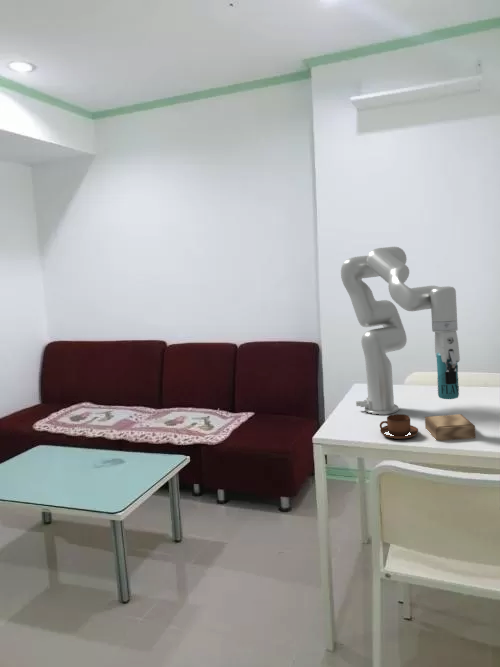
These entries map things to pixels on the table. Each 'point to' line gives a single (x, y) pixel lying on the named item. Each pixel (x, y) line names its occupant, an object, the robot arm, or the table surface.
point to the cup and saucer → (398, 427)
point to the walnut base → (450, 427)
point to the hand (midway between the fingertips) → (447, 380)
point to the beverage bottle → (445, 389)
